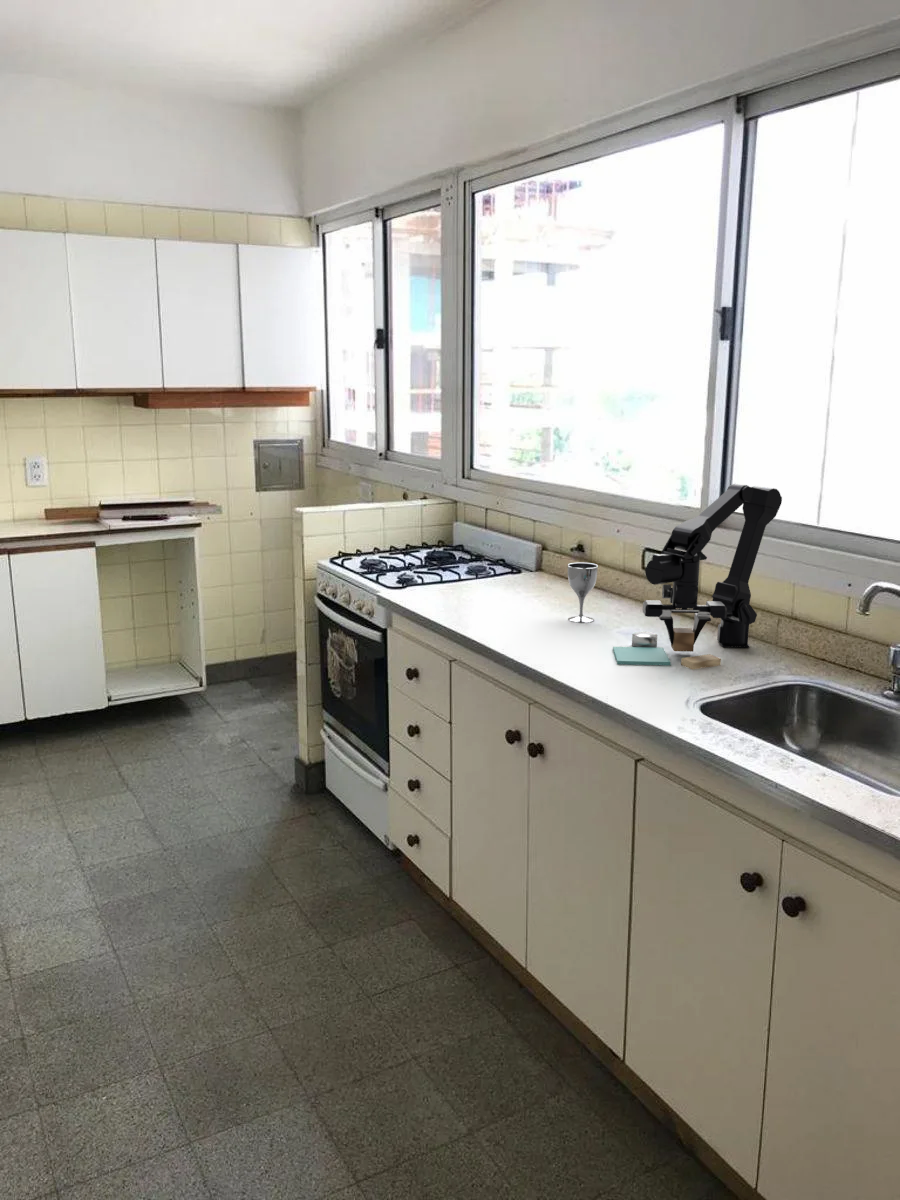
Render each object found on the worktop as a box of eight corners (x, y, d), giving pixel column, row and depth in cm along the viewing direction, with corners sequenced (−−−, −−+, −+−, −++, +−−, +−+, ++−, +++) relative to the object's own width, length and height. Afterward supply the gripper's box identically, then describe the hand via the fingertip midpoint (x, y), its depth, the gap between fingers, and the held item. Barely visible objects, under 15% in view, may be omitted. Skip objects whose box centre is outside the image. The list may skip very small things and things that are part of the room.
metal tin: (655, 643, 241) (655, 631, 241) (658, 650, 236) (659, 638, 235) (630, 643, 242) (631, 631, 241) (633, 649, 236) (633, 637, 235)
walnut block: (690, 646, 233) (691, 628, 232) (693, 651, 229) (694, 633, 228) (671, 646, 233) (672, 627, 232) (673, 651, 229) (674, 632, 228)
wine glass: (572, 624, 259) (574, 568, 256) (561, 617, 267) (563, 563, 263) (600, 622, 261) (602, 567, 258) (588, 615, 269) (590, 561, 265)
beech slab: (709, 662, 227) (709, 654, 226) (720, 667, 223) (721, 658, 223) (681, 666, 224) (681, 658, 223) (692, 671, 220) (692, 662, 220)
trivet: (663, 650, 235) (663, 647, 234) (670, 665, 223) (670, 662, 223) (612, 649, 235) (612, 646, 235) (617, 664, 224) (617, 660, 224)
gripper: (720, 573, 234) (715, 636, 238) (641, 572, 236) (638, 634, 239) (729, 583, 224) (725, 648, 227) (647, 581, 225) (643, 647, 228)
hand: (682, 644), depth 231 cm, fingers closed on walnut block, 4 cm apart
